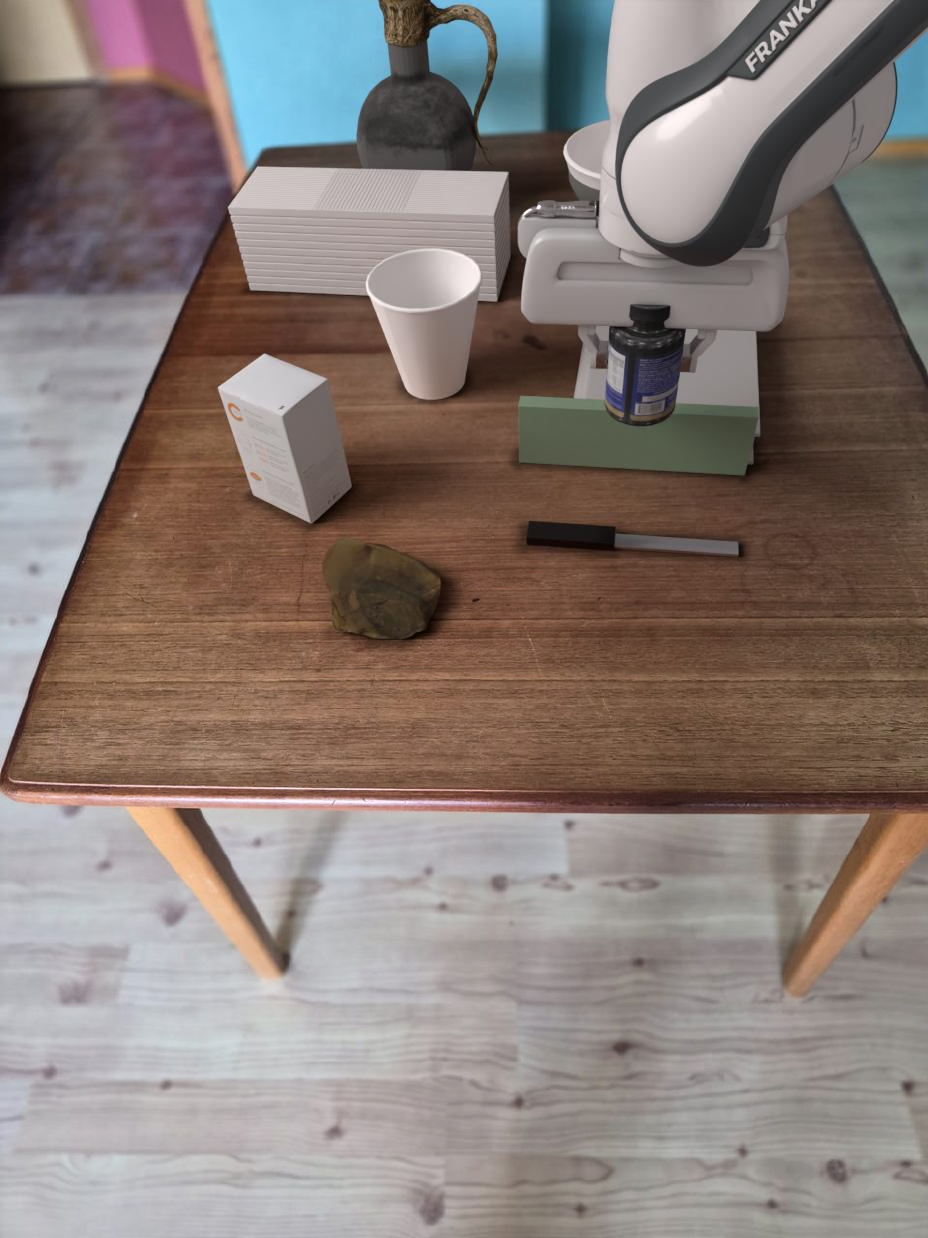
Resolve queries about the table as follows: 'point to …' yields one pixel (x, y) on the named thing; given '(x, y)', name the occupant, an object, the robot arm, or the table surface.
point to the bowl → (586, 159)
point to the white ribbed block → (366, 224)
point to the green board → (636, 437)
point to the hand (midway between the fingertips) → (642, 366)
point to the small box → (287, 436)
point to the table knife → (620, 540)
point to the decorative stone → (378, 590)
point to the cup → (427, 316)
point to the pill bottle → (643, 367)
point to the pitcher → (421, 96)
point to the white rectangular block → (697, 373)
